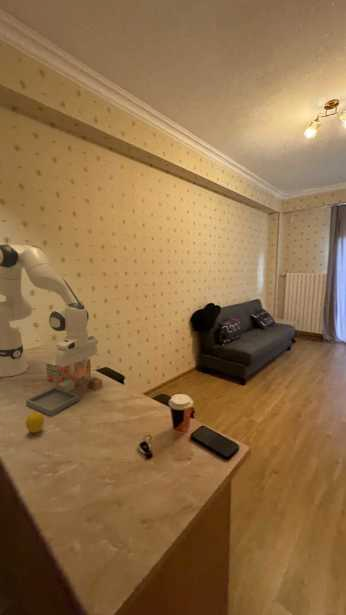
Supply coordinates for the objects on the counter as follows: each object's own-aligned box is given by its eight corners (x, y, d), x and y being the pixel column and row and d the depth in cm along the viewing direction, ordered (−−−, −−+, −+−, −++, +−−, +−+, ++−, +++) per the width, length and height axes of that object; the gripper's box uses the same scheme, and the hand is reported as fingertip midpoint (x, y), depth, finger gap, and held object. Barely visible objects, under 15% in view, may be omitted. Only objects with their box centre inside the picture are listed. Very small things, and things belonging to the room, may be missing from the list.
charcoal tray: (26, 405, 112) (26, 400, 112) (55, 391, 124) (55, 386, 124) (51, 416, 105) (50, 410, 104) (79, 401, 117) (79, 395, 116)
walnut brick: (87, 387, 130) (87, 379, 129) (93, 384, 133) (93, 376, 132) (96, 390, 127) (95, 382, 126) (102, 387, 130) (102, 379, 129)
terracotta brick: (70, 374, 121) (69, 366, 120) (77, 371, 124) (76, 363, 123) (79, 378, 118) (79, 369, 117) (86, 374, 121) (86, 366, 120)
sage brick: (58, 391, 125) (58, 383, 124) (69, 386, 130) (69, 379, 129) (64, 394, 123) (63, 386, 122) (75, 388, 128) (74, 381, 127)
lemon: (48, 429, 97) (46, 409, 95) (35, 439, 92) (33, 417, 90) (36, 426, 98) (34, 406, 97) (23, 435, 93) (21, 414, 92)
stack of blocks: (47, 381, 136) (45, 358, 134) (54, 376, 142) (53, 353, 140) (84, 385, 131) (83, 362, 129) (91, 380, 137) (90, 357, 135)
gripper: (90, 333, 128) (91, 361, 131) (52, 344, 111) (54, 376, 113) (99, 335, 125) (100, 363, 128) (62, 347, 108) (64, 379, 110)
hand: (78, 369), depth 120 cm, fingers closed on terracotta brick, 4 cm apart
